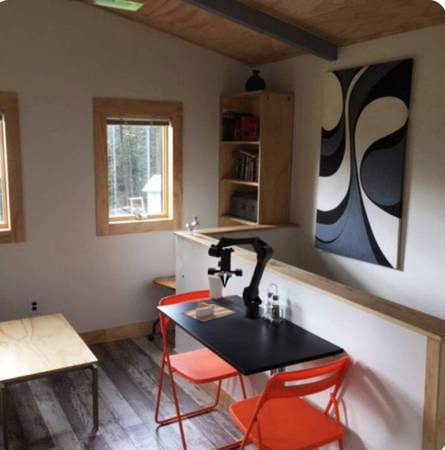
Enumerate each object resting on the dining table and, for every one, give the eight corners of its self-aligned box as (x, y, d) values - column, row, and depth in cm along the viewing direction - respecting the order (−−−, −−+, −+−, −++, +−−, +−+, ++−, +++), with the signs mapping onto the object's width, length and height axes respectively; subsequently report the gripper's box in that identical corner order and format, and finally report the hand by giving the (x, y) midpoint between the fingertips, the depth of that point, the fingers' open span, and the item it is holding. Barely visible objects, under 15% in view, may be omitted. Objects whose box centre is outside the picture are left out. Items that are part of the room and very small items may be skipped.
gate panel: (199, 308, 284) (199, 299, 283) (211, 312, 277) (211, 303, 277) (196, 308, 283) (197, 300, 282) (208, 313, 276) (209, 304, 275)
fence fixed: (214, 315, 276) (215, 304, 275) (197, 319, 268) (197, 309, 267) (212, 314, 277) (212, 303, 276) (194, 318, 269) (195, 308, 268)
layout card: (236, 313, 280) (236, 312, 280) (202, 322, 264) (202, 321, 264) (214, 305, 292) (214, 304, 292) (181, 313, 277) (181, 312, 276)
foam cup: (226, 296, 309) (227, 275, 307) (218, 300, 302) (219, 278, 300) (213, 293, 314) (213, 272, 312) (204, 297, 306) (205, 275, 304)
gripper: (243, 256, 290) (241, 284, 293) (209, 255, 291) (208, 282, 293) (243, 261, 279) (241, 289, 282) (207, 259, 280) (206, 288, 282)
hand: (224, 287), depth 285 cm, fingers closed
